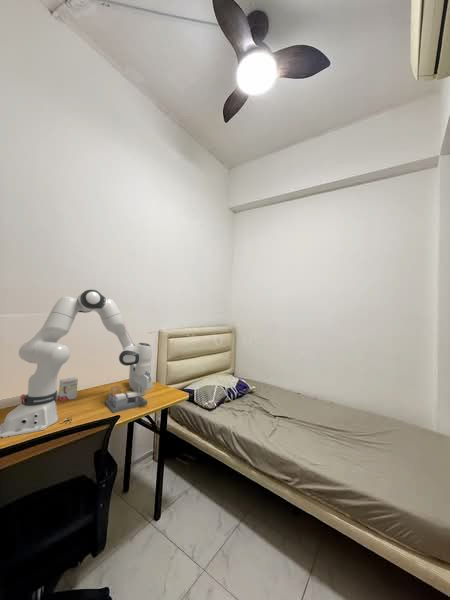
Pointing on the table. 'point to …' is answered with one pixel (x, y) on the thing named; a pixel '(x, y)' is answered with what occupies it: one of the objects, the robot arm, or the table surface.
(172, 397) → the table surface
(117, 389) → the orange button
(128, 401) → the grey stepped base
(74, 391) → the ink box
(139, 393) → the rocker
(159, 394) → the table surface
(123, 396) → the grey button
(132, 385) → the rounded white slab
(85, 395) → the table surface
